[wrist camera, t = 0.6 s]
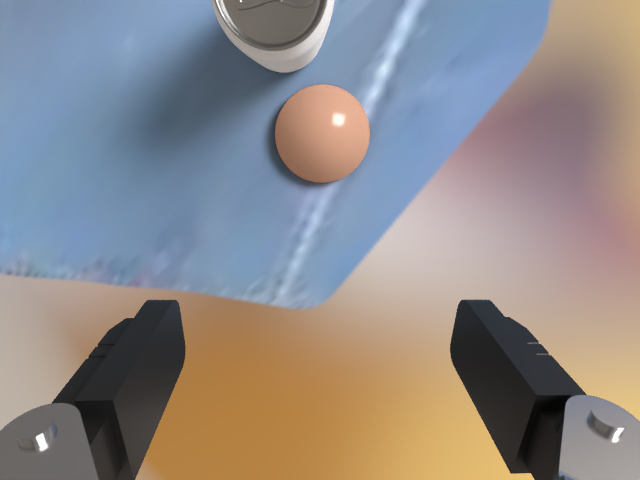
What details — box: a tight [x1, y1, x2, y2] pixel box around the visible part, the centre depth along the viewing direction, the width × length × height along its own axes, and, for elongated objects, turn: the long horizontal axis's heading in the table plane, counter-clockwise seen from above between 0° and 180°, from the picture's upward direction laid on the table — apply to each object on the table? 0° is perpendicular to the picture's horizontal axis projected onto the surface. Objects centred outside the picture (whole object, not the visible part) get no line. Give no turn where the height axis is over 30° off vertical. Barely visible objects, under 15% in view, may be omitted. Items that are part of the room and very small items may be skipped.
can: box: [212, 0, 334, 73], centre depth 23 cm, size 6×6×12 cm
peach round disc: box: [275, 85, 370, 183], centre depth 32 cm, size 8×8×1 cm
